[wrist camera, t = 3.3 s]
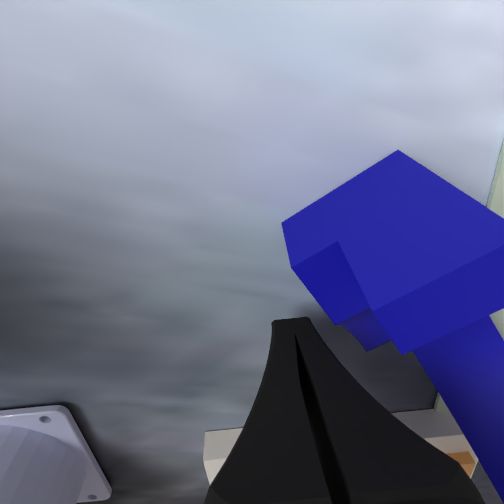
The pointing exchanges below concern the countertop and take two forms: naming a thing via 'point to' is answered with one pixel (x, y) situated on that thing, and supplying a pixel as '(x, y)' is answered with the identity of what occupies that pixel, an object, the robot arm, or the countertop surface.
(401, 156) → the cable clip
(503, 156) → the mat
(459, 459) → the power strip
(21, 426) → the robot arm
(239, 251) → the countertop surface
